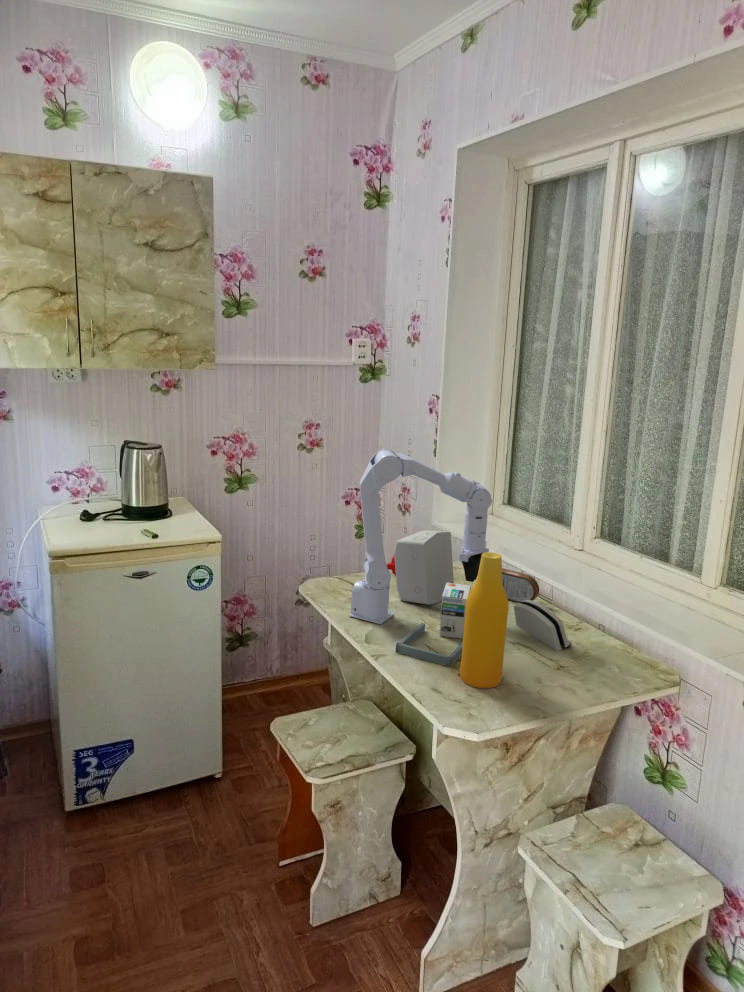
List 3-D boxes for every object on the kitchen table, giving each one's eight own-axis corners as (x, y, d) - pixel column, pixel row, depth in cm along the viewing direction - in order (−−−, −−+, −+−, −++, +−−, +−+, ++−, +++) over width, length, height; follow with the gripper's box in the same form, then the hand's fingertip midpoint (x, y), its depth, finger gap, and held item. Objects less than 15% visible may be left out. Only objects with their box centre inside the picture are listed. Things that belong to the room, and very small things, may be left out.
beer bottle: (473, 692, 163) (484, 564, 156) (452, 672, 171) (461, 550, 164) (509, 685, 167) (522, 560, 160) (487, 667, 175) (498, 547, 168)
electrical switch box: (411, 589, 227) (407, 524, 224) (454, 594, 218) (450, 527, 215) (383, 602, 215) (378, 534, 212) (428, 609, 207) (423, 538, 204)
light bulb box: (465, 640, 189) (468, 599, 186) (438, 636, 190) (441, 596, 187) (468, 623, 199) (472, 584, 196) (443, 620, 200) (446, 581, 198)
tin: (538, 604, 214) (541, 576, 212) (534, 607, 212) (537, 579, 210) (489, 592, 222) (491, 564, 220) (484, 595, 219) (487, 567, 217)
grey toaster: (573, 648, 187) (567, 614, 183) (559, 657, 185) (552, 623, 182) (530, 622, 201) (524, 590, 198) (516, 630, 200) (509, 598, 196)
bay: (395, 651, 180) (395, 644, 180) (421, 629, 193) (421, 622, 193) (450, 666, 174) (450, 658, 174) (473, 643, 187) (473, 635, 187)
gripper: (480, 540, 189) (475, 591, 193) (498, 527, 202) (494, 575, 205) (453, 535, 192) (449, 585, 196) (473, 522, 205) (469, 570, 208)
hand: (470, 580), depth 201 cm, fingers closed
